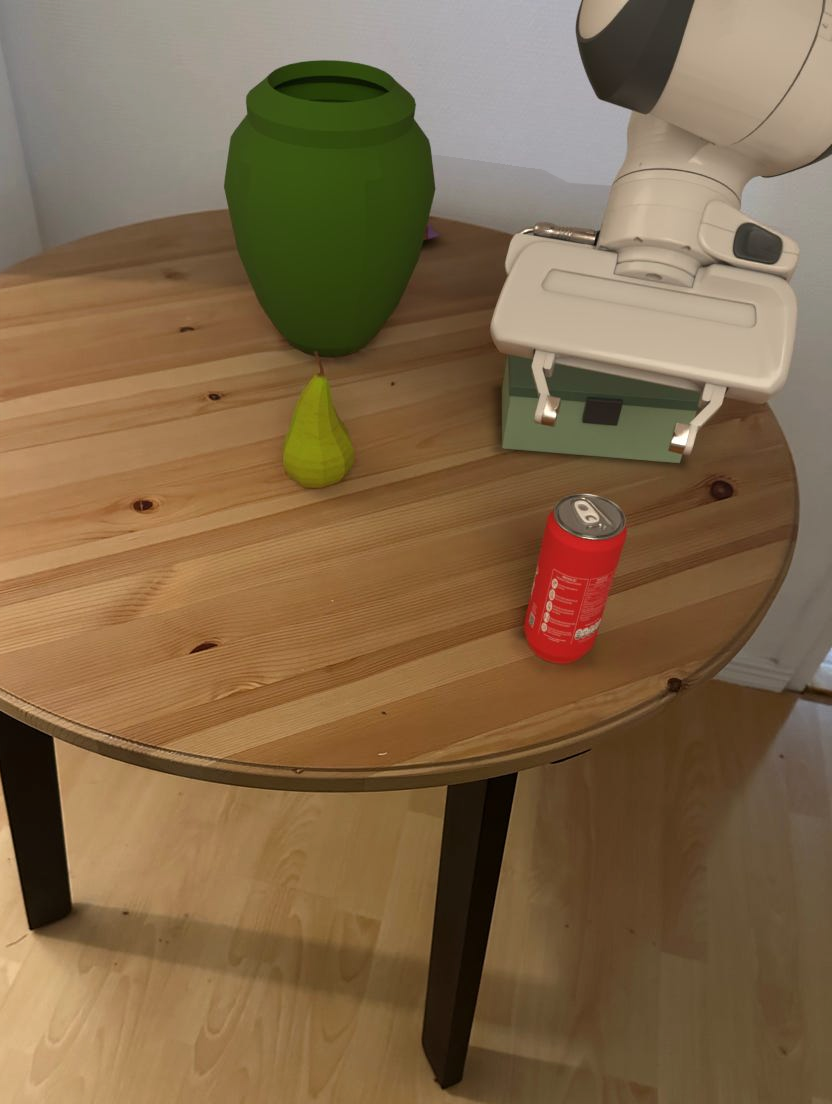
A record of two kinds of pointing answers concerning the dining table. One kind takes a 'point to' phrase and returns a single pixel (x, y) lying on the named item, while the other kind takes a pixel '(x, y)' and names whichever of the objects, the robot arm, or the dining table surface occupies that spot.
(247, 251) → the vase
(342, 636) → the dining table surface
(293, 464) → the fruit
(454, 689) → the dining table surface
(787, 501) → the dining table surface
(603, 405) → the box
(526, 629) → the beverage can
